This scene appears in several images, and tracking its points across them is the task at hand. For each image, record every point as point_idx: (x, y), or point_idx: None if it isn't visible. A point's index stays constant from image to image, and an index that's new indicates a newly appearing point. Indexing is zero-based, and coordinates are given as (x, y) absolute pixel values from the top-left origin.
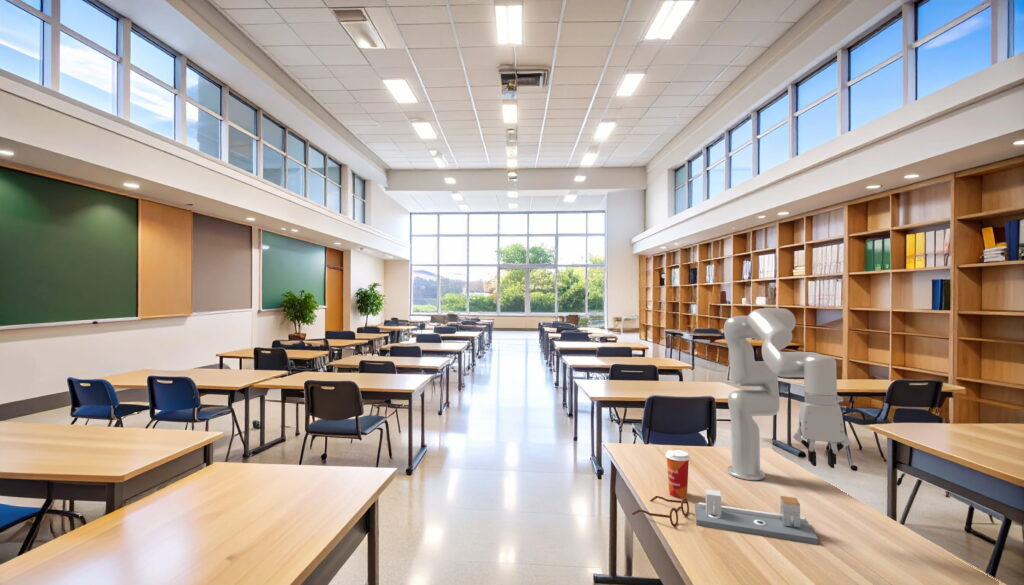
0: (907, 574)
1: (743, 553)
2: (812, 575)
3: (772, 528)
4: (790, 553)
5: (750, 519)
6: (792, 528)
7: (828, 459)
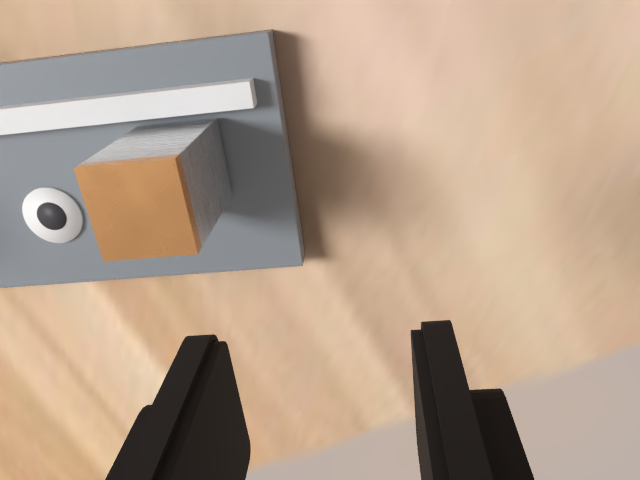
0: (585, 351)
1: (55, 421)
2: (262, 463)
3: None
4: None
5: (5, 192)
6: None
7: (420, 419)
